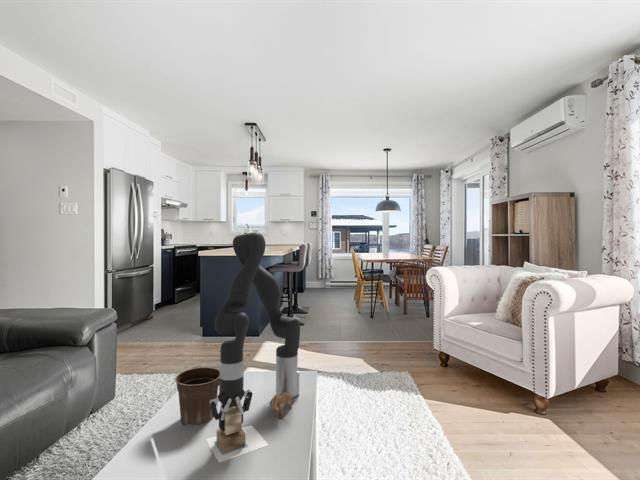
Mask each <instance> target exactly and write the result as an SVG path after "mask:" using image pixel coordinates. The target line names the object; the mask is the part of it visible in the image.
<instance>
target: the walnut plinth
mask: <svg viewBox="0 0 640 480" xmlns="http://www.w3.org/2000/svg"><path fill="white" fill-rule="evenodd" d="M242 428H243V427H241V431H238V432H235V433H232V434H229V435H225V433H224V432H222V430H220V428H218V429H216V436H217V443H218V445H219V447H220V448H221V450H222V451H223V453H226V452H228V451H231V450H234V449H237V448H240V447H243V446H245V432H244V431H243V430H242Z"/></svg>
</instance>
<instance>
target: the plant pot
mask: <svg viewBox="0 0 640 480" xmlns="http://www.w3.org/2000/svg"><path fill="white" fill-rule="evenodd" d="M174 381H175V383H176V389H177V392H178V393H177V394H178V402H179V403H178V404H179V413H180V422H181V424H182V425H184V426H186V425H190V426H192V425H193V426H194V425H195V426H196V425H202V424H205V423H207V422H208V423H209V421H211V420H213V419H215V418H214V417H213V415H212V411H211V407H210V403H209V400H210V399H215V398H217V397H218V395H219V368H215V367H201V366H200V367H194V368H190V369H186V370H183V371H182V372H180V373H178V374H177V375H176V376H175V378H174Z"/></svg>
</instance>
